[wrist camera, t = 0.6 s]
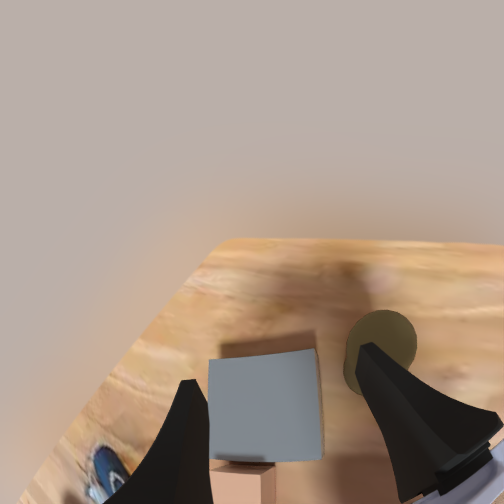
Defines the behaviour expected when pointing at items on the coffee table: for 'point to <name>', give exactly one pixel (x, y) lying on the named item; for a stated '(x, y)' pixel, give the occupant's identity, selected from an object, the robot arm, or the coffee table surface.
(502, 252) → the coffee table surface
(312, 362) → the plate
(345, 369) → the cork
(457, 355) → the coffee table surface
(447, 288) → the coffee table surface
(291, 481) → the coffee table surface
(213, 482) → the tan cube
